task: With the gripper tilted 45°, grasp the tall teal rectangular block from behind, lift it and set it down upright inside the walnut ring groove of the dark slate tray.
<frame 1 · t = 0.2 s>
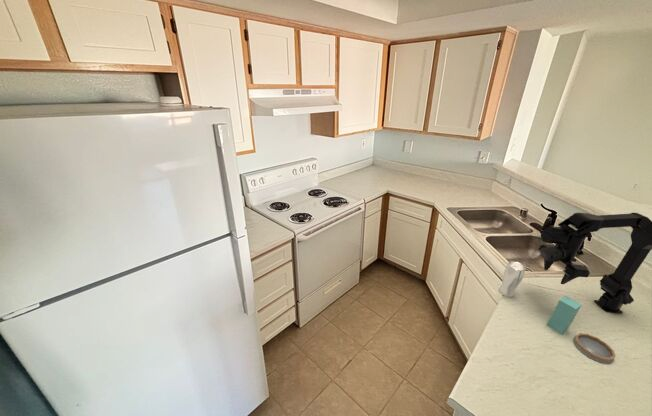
hand: (553, 276, 108), 14 cm above the worktop, tool pointing down, fingers open, 9 cm apart
teal rectangular block: (556, 327, 102), on the worktop
groove tray: (592, 349, 94), on the worktop
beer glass: (505, 292, 120), on the worktop
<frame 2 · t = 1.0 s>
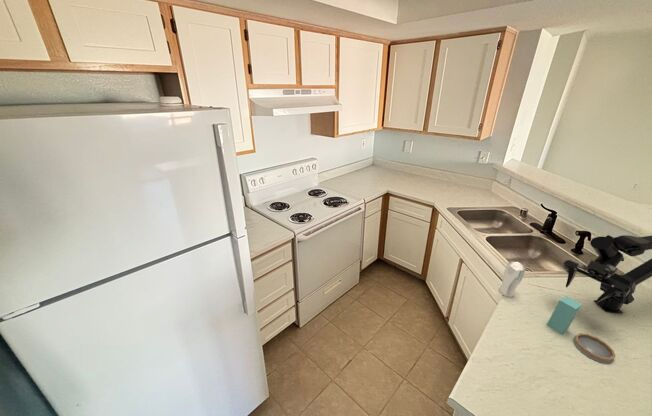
hand: (580, 294, 100), 13 cm above the worktop, tool tilted 45°, fingers open, 9 cm apart
nothing on the worktop moved.
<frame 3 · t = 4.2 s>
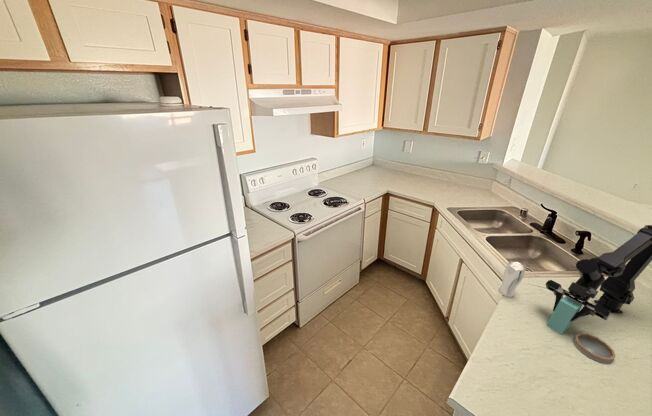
hand: (562, 316, 99), 7 cm above the worktop, tool tilted 45°, fingers closed on teal rectangular block, 5 cm apart
teal rectangular block: (556, 327, 102), on the worktop, touching gripper
everything else where it was.
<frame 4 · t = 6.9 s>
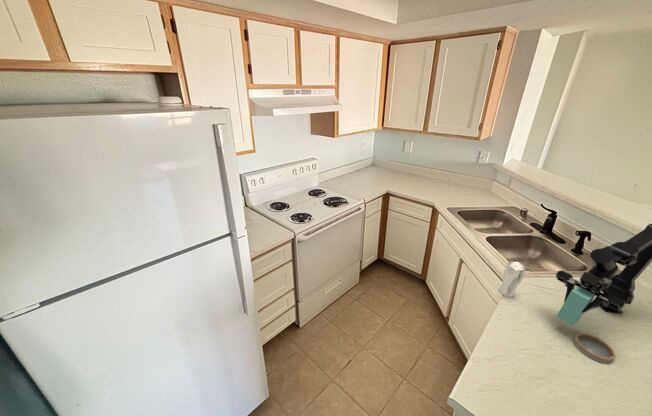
hand: (573, 307, 95), 12 cm above the worktop, tool tilted 45°, fingers closed on teal rectangular block, 5 cm apart
teal rectangular block: (567, 318, 99), point 6 cm above the worktop, touching gripper
everything else where it was.
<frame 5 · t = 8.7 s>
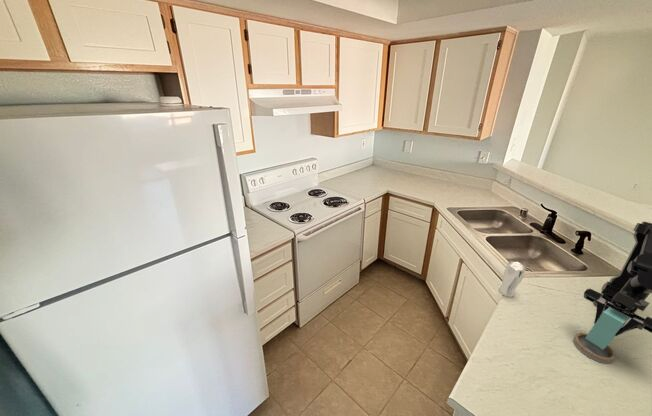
hand: (604, 329, 89), 11 cm above the worktop, tool tilted 45°, fingers closed on teal rectangular block, 5 cm apart
teal rectangular block: (596, 340, 92), point 4 cm above the worktop, touching gripper
everything else where it was.
when the fingers open (9 cm above the worktop, at t = 9.9 s): teal rectangular block drops 1 cm, resting on groove tray.
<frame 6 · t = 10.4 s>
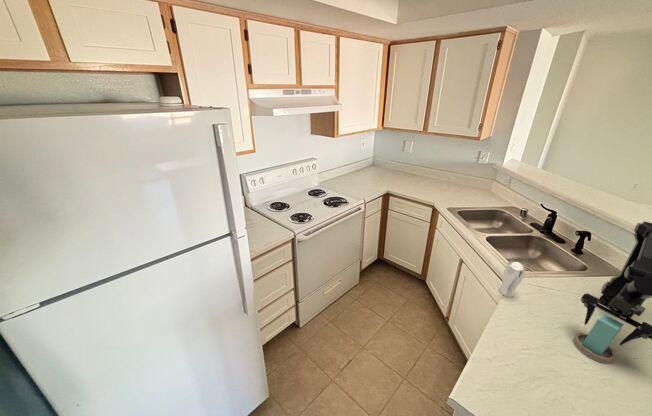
hand: (601, 334, 90), 9 cm above the worktop, tool tilted 45°, fingers open, 9 cm apart
teal rectangular block: (593, 347, 94), point 1 cm above the worktop, touching groove tray
everything else where it was.
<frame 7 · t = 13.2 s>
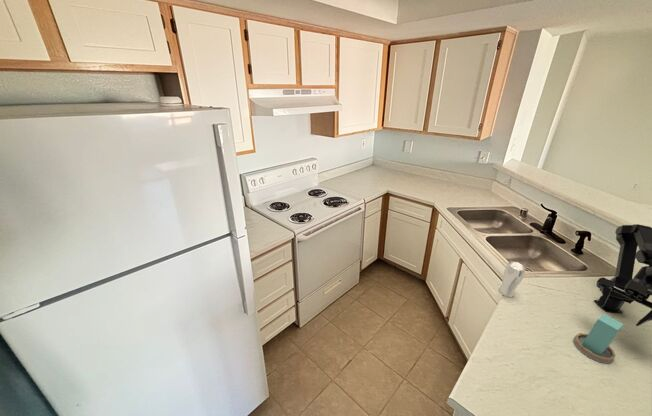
hand: (618, 316, 92), 12 cm above the worktop, tool tilted 45°, fingers open, 9 cm apart
nothing on the worktop moved.
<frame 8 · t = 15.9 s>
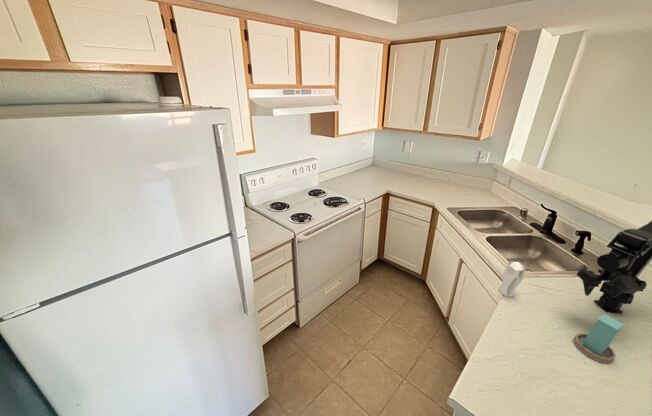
hand: (599, 296, 102), 12 cm above the worktop, tool pointing down, fingers open, 9 cm apart
nothing on the worktop moved.
at the end: teal rectangular block 0.0 cm off-centre on the groove tray, point 0.8 cm above the groove tray's base; teal rectangular block tilted 0°; the gripper is holding nothing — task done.
